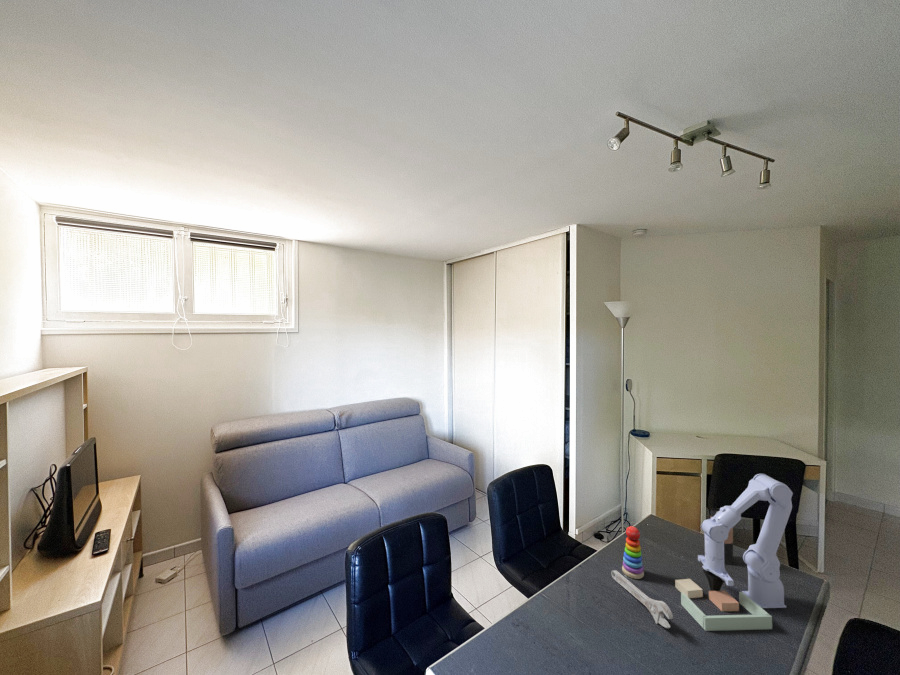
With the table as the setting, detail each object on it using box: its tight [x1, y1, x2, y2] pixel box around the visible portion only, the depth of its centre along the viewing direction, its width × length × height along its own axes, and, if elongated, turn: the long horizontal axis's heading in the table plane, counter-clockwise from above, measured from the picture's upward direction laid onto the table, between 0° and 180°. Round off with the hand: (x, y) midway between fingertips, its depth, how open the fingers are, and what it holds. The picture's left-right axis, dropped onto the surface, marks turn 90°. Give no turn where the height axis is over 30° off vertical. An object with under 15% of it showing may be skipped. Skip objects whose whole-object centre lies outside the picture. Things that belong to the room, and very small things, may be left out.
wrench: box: [610, 570, 674, 629], centre depth 126 cm, size 8×2×30 cm
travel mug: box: [710, 507, 734, 565], centre depth 151 cm, size 8×8×20 cm
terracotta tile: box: [708, 590, 740, 612], centre depth 125 cm, size 6×6×3 cm
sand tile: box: [674, 578, 704, 599], centre depth 131 cm, size 6×6×3 cm
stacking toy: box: [621, 525, 645, 580], centre depth 142 cm, size 8×8×19 cm
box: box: [680, 591, 773, 632], centre depth 119 cm, size 22×12×4 cm, turn 91°
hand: (715, 592), depth 129 cm, fingers closed
